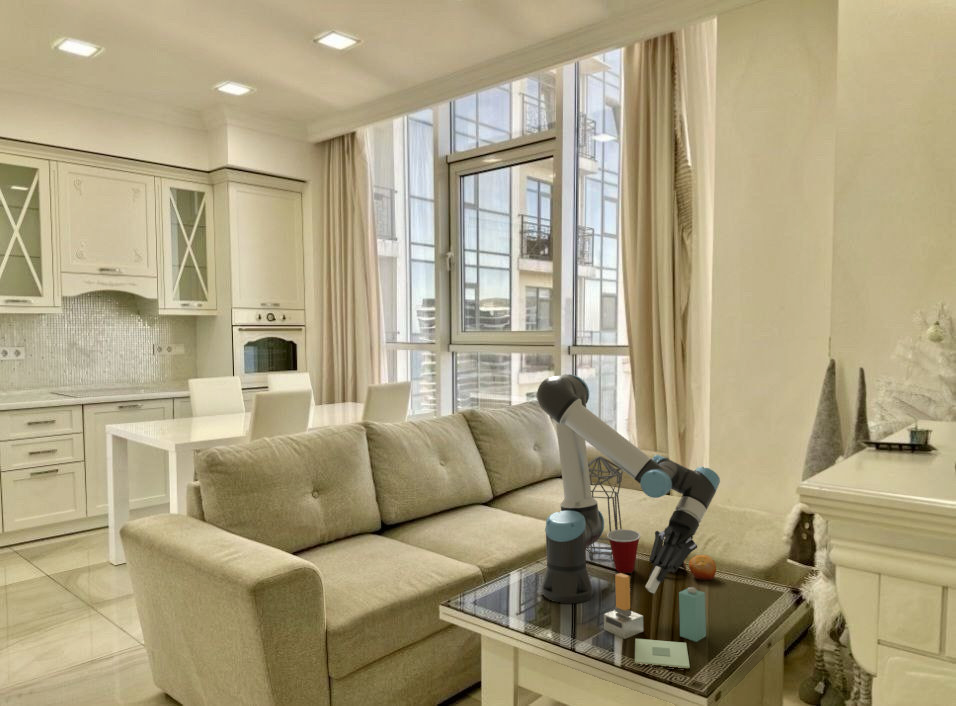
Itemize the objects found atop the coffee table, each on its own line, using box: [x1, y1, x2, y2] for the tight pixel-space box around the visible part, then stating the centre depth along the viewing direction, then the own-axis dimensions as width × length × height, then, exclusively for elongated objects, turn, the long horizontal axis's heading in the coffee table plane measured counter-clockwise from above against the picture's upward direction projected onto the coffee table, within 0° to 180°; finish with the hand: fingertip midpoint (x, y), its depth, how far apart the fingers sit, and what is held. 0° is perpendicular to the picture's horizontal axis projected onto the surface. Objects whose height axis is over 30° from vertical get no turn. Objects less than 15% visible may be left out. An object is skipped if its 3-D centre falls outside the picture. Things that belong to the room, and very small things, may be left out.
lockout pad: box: [634, 638, 691, 669], centre depth 153 cm, size 12×12×1 cm
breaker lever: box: [614, 572, 632, 617], centre depth 167 cm, size 2×4×10 cm, turn 36°
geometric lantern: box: [586, 455, 624, 561], centre depth 227 cm, size 16×16×35 cm
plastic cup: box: [606, 528, 641, 574], centre depth 212 cm, size 11×11×12 cm
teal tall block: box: [678, 586, 707, 643], centre depth 163 cm, size 4×4×12 cm
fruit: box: [688, 554, 717, 581], centre depth 203 cm, size 8×8×8 cm
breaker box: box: [603, 609, 644, 640], centre depth 167 cm, size 7×7×4 cm
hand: (649, 590), depth 173 cm, fingers closed
